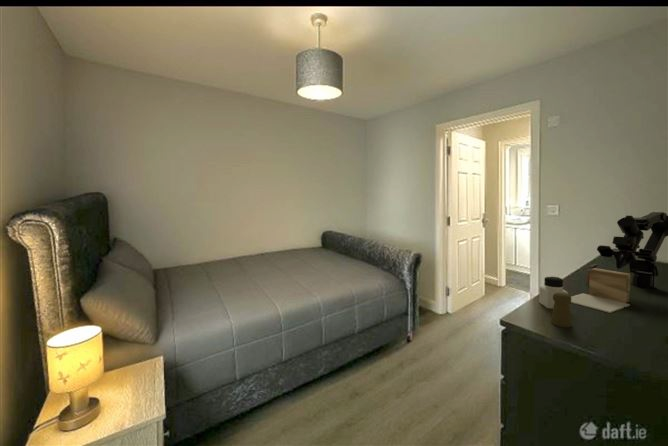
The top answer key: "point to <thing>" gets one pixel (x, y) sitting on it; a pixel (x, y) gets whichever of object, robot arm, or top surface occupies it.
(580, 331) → the top surface
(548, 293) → the medicine bottle
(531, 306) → the top surface
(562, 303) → the wooden pepper mill
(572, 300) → the felt mat
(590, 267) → the lighter
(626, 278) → the letter block
